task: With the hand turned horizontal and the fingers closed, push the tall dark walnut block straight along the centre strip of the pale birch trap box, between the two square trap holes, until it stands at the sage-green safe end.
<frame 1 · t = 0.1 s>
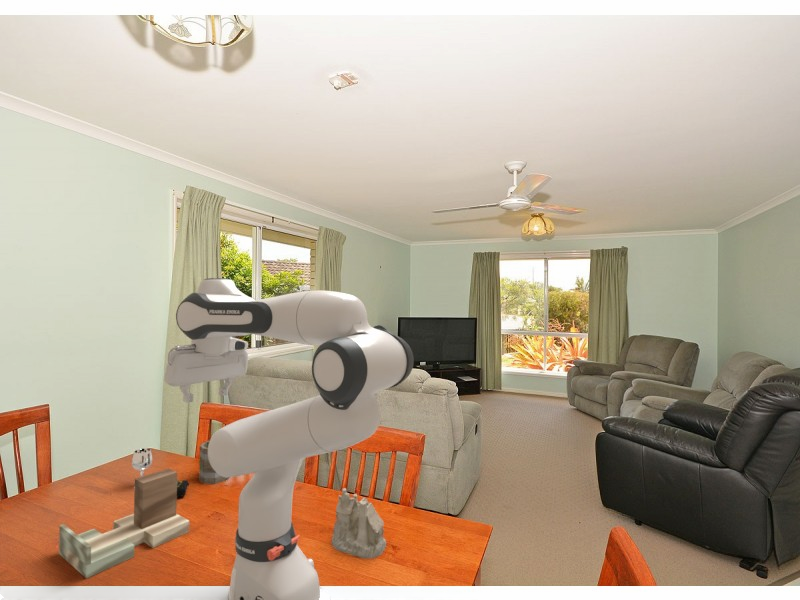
hand: (206, 398, 106), 39 cm above the table, fingers open, 8 cm apart
walnut block: (155, 519, 116), point 3 cm above the table, touching trap box
trap box: (127, 542, 110), on the table
mug: (215, 475, 153), on the table
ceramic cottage: (362, 540, 115), on the table
tape measure: (178, 495, 138), on the table
wineglass: (141, 487, 143), on the table
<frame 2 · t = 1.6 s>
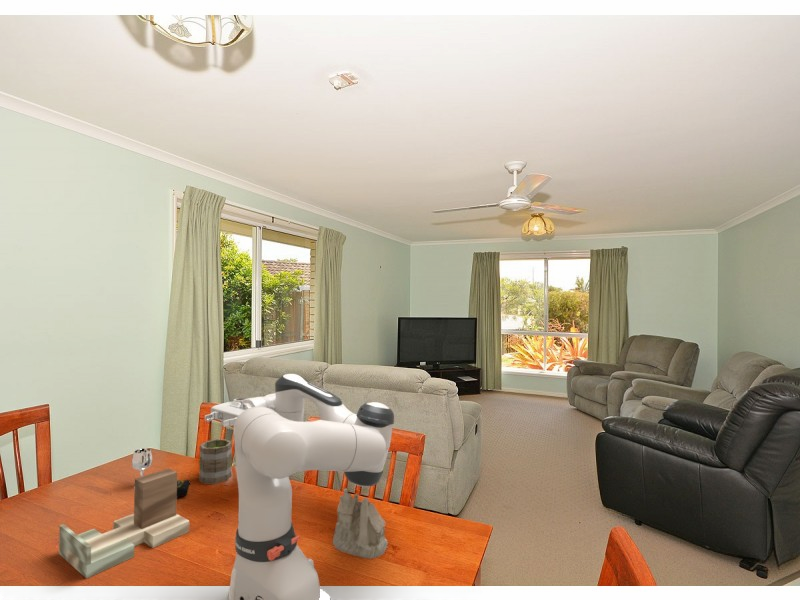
hand: (213, 421, 130), 26 cm above the table, fingers open, 7 cm apart
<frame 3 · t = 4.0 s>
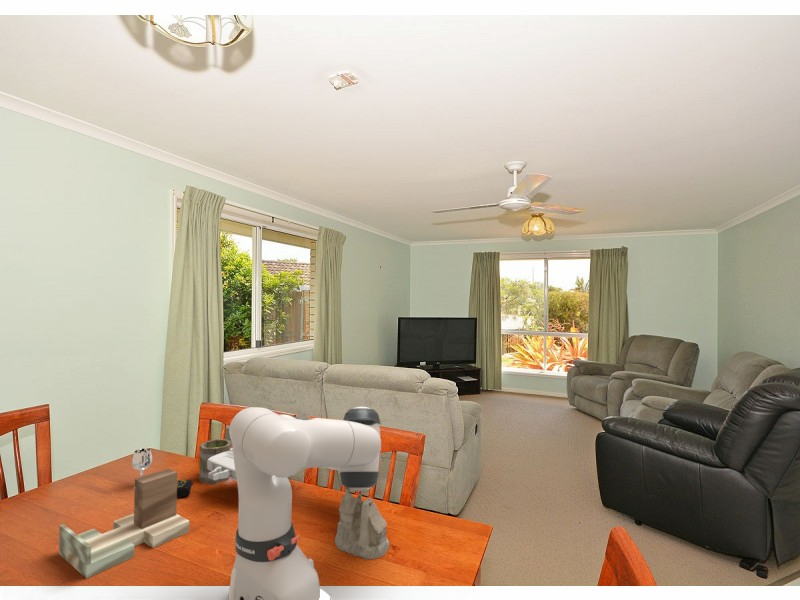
hand: (210, 476, 130), 9 cm above the table, fingers closed
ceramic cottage: (365, 540, 114), on the table, touching arm
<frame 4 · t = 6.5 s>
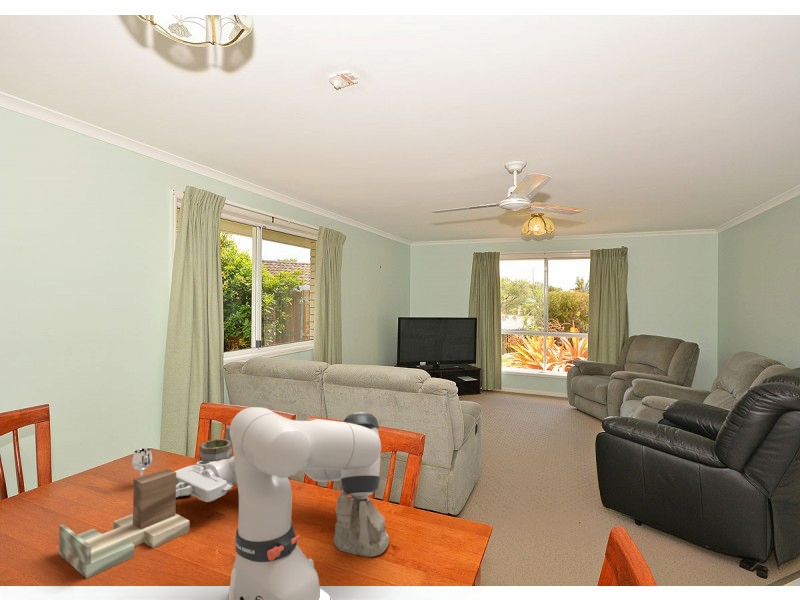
hand: (171, 493, 120), 8 cm above the table, fingers closed, pressing on walnut block
walnut block: (154, 519, 116), point 3 cm above the table, touching gripper, trap box
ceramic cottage: (364, 535, 115), point 1 cm above the table, touching arm
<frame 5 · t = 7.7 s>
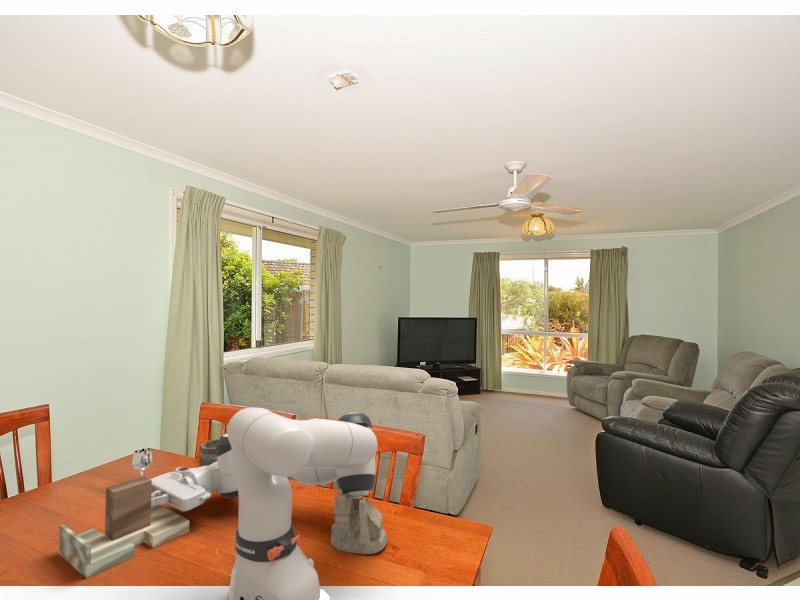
hand: (146, 502, 115), 8 cm above the table, fingers closed, pressing on walnut block
walnut block: (128, 530, 111), point 3 cm above the table, touching gripper
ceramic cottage: (360, 534, 115), point 1 cm above the table, touching arm
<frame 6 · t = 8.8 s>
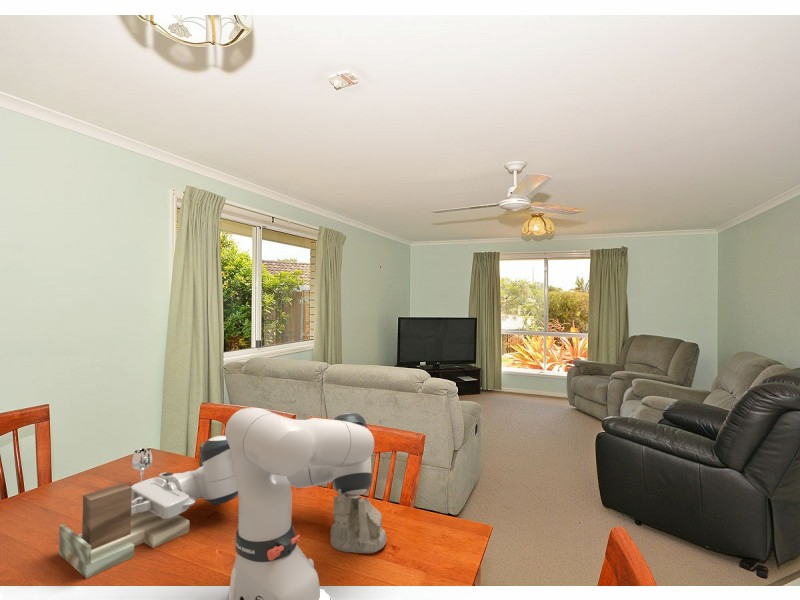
hand: (126, 509, 110), 9 cm above the table, fingers closed, pressing on walnut block
walnut block: (106, 539, 106), point 3 cm above the table, touching gripper, trap box
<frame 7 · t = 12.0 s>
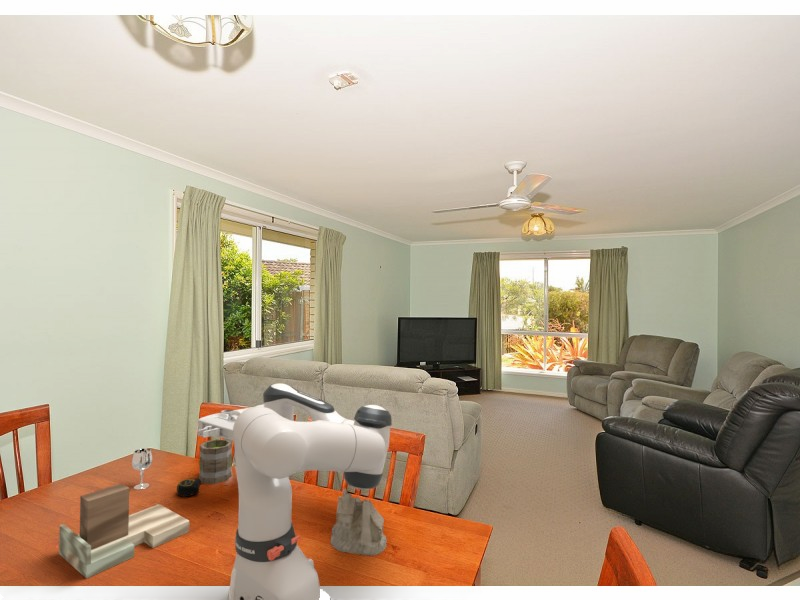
hand: (200, 434, 127), 23 cm above the table, fingers closed
walnut block: (104, 540, 106), point 3 cm above the table, touching trap box
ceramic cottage: (360, 538, 115), on the table
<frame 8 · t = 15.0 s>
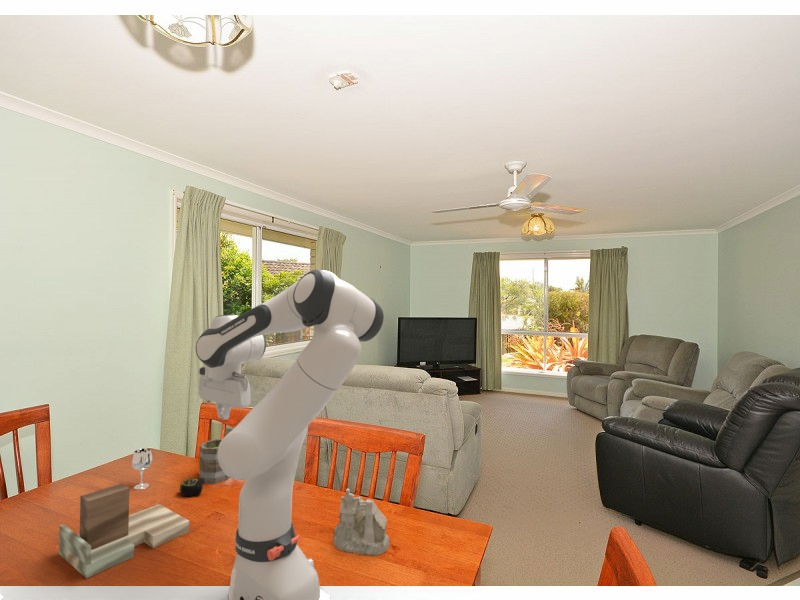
hand: (223, 418, 123), 29 cm above the table, fingers closed
at the end: walnut block 0.4 cm from the target spot, point 3.0 cm above the table; walnut block tilted 0°; walnut block moved 12.3 cm from its start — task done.
